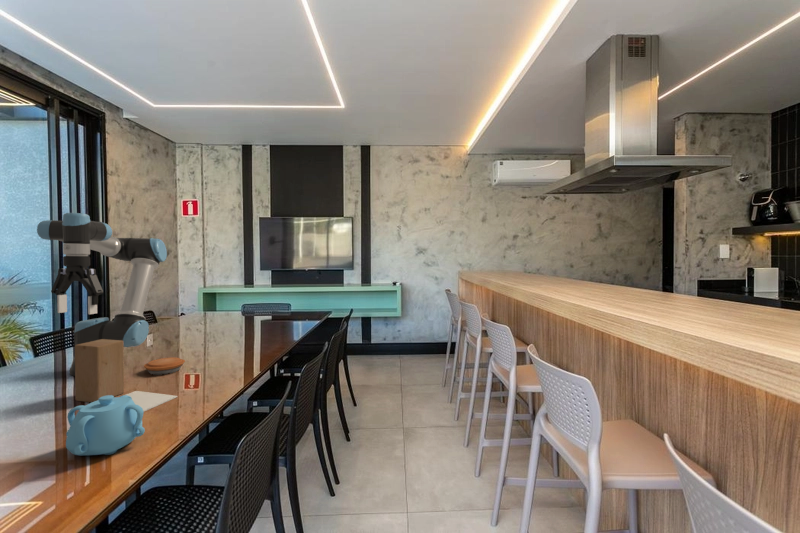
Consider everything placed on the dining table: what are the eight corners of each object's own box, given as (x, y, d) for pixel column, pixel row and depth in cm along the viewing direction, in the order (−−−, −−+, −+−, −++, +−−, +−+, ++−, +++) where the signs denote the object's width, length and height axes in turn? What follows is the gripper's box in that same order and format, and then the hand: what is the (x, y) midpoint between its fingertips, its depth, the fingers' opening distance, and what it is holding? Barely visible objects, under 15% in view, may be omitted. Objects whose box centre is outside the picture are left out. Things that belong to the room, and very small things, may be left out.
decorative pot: (147, 448, 99) (147, 398, 99) (66, 471, 88) (66, 414, 88) (138, 427, 111) (138, 382, 111) (66, 445, 100) (66, 395, 100)
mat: (136, 391, 139) (136, 390, 139) (177, 397, 135) (177, 395, 135) (94, 407, 125) (94, 406, 125) (139, 413, 120) (139, 412, 120)
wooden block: (97, 403, 128) (97, 346, 128) (74, 401, 130) (74, 344, 130) (124, 393, 138) (124, 340, 137) (102, 391, 140) (102, 338, 139)
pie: (192, 367, 171) (192, 356, 171) (166, 377, 156) (166, 366, 156) (163, 365, 174) (163, 354, 174) (134, 375, 159) (134, 364, 159)
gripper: (37, 255, 134) (38, 313, 134) (94, 255, 129) (95, 316, 130) (60, 255, 141) (60, 310, 142) (115, 255, 137) (115, 312, 137)
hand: (77, 313), depth 136 cm, fingers open, 13 cm apart
